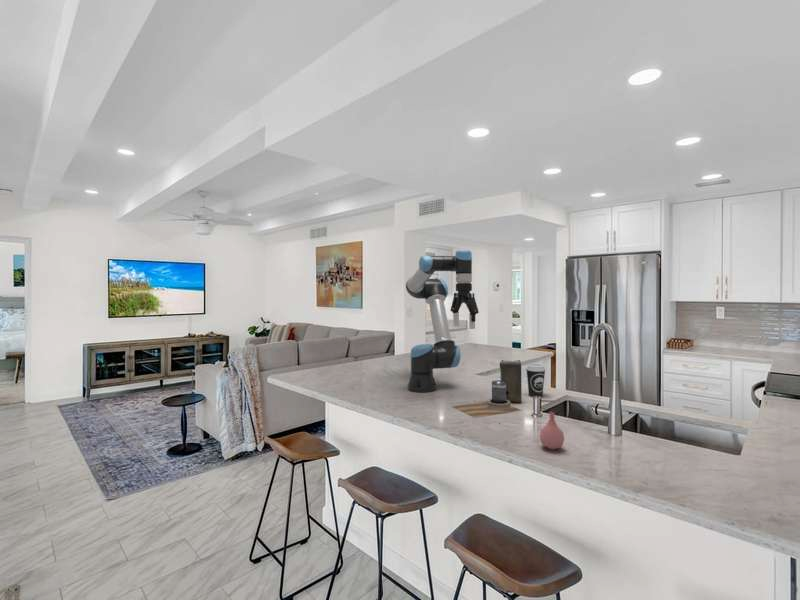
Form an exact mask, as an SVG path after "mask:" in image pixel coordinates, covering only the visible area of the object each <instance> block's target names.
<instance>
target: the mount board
mask: <svg viewBox="0 0 800 600" xmlns="http://www.w3.org/2000/svg"><path fill="white" fill-rule="evenodd" d="M511 404H512V403H511V402H510V401H509V400H508V399H506V403H505V404H495V403H492V398H489V399H488V400H487V401H479V402H475V403H474V402H473V403H467V404H465V403H464V404H460V405H459V404H458V405H454V406H453V405H452V406H451V408H452V409H455V410H457V411H460V412H461V413H464V414H466V415H468V416H470V417H472V418H474V419H478V418H479V419H480V418H484V417H490V416H497V415H501V414H508V413H514V412H520V411H522V409H520V408H518V407H514V406H512V405H511Z"/></svg>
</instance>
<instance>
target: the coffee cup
mask: <svg viewBox="0 0 800 600" xmlns="http://www.w3.org/2000/svg"><path fill="white" fill-rule="evenodd" d="M525 370H526V379H527V387H528V388H527V390H528V396H530V397H532V398H535V397H534V396H541V397H540V398H543V396H544V386H545V385H544V383H545V374H546V371H547V369H546V367H545V365H544V364H540V363H528V364H527V365H526V367H525Z"/></svg>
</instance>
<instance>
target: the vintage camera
mask: <svg viewBox="0 0 800 600" xmlns="http://www.w3.org/2000/svg"><path fill="white" fill-rule="evenodd" d="M499 369H500V371H499V372H500V380H501V381H505V382H506V399H508V400H509V401H510V402H511V404H513V403H514V404H517V403H518V404H520V403H522V399H523V398H522V361H521V360H520V359H518V360H503V359H502V360H500V362H499Z"/></svg>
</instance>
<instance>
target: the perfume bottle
mask: <svg viewBox="0 0 800 600" xmlns="http://www.w3.org/2000/svg"><path fill="white" fill-rule="evenodd" d="M539 433H540V435H539V439H540V443H541V445H542V446H544V447H546V448H548V450H553V451H554V450H556V449H561V448H563V445H564V441H565V435H564V431H563V430H562V429H561V428H560V427H559V426H558V424H557V422H556V420H555V412H553V411H549V420H547V423H546V425H545V426H543V428H541V429H540V432H539Z"/></svg>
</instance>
